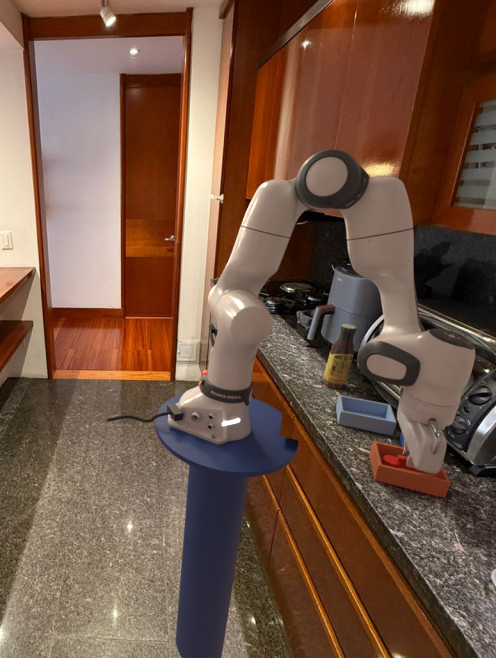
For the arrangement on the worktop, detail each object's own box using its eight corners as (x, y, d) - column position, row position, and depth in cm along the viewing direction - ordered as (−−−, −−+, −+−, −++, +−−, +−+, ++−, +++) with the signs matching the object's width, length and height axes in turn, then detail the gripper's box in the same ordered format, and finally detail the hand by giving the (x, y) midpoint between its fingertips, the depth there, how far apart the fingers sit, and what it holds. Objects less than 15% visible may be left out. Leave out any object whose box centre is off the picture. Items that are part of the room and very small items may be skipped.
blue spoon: (394, 438, 97) (396, 430, 96) (409, 441, 96) (412, 433, 95) (400, 457, 90) (403, 449, 90) (417, 461, 89) (420, 452, 88)
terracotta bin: (374, 480, 84) (378, 465, 82) (369, 454, 91) (373, 440, 90) (444, 498, 79) (450, 482, 77) (432, 469, 87) (438, 455, 85)
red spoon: (424, 467, 84) (427, 458, 84) (428, 477, 82) (431, 468, 81) (381, 457, 88) (384, 448, 87) (383, 466, 85) (386, 457, 84)
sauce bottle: (326, 388, 120) (339, 329, 113) (319, 379, 126) (331, 322, 118) (349, 390, 119) (364, 330, 112) (340, 380, 125) (354, 322, 118)
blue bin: (337, 424, 103) (340, 411, 101) (335, 407, 111) (338, 394, 109) (392, 435, 98) (396, 422, 96) (386, 417, 106) (390, 404, 104)
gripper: (464, 440, 69) (440, 499, 74) (433, 387, 86) (415, 439, 91) (420, 431, 71) (400, 489, 77) (399, 382, 88) (384, 432, 94)
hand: (408, 461), depth 84 cm, fingers closed on red spoon, 1 cm apart
